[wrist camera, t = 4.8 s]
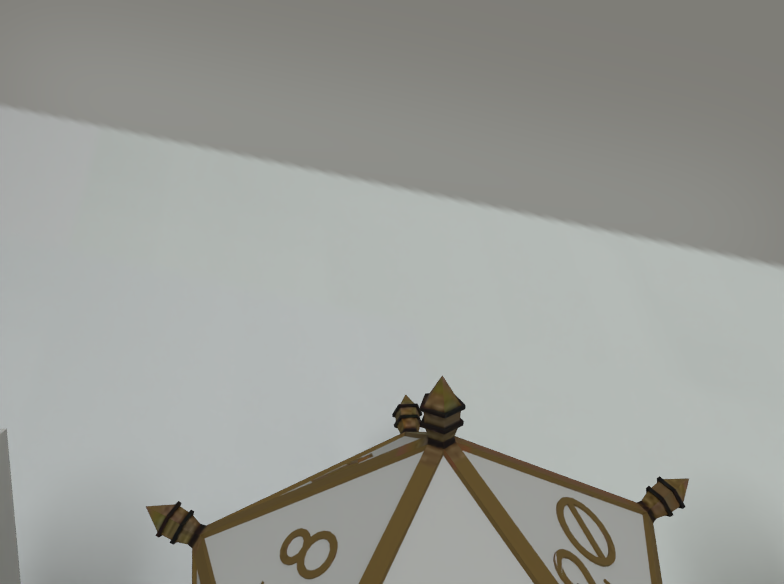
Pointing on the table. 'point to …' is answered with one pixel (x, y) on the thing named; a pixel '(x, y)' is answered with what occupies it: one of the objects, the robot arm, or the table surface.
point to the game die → (430, 519)
